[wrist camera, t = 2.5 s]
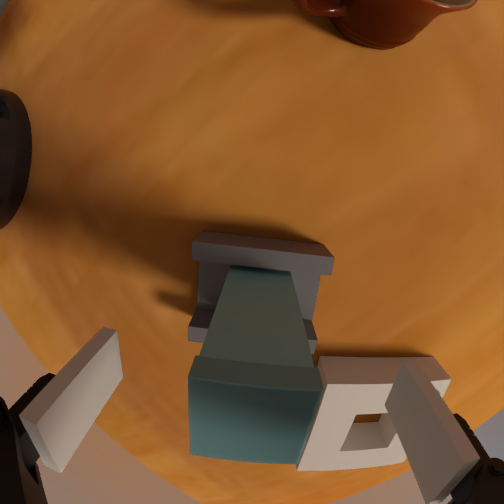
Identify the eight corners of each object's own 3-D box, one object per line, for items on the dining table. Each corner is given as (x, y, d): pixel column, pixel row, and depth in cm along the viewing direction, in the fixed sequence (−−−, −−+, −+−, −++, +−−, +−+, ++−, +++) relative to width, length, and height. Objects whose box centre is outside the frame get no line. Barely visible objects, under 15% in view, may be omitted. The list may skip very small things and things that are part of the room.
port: (294, 443, 28) (296, 475, 23) (319, 355, 25) (328, 388, 20) (393, 438, 28) (404, 466, 23) (433, 356, 25) (454, 382, 20)
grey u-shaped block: (197, 318, 24) (187, 340, 21) (202, 230, 22) (191, 241, 19) (307, 330, 24) (314, 354, 21) (323, 244, 22) (334, 257, 19)
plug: (227, 308, 23) (190, 454, 10) (232, 256, 22) (188, 375, 9) (282, 314, 23) (297, 464, 10) (290, 262, 22) (323, 389, 9)
